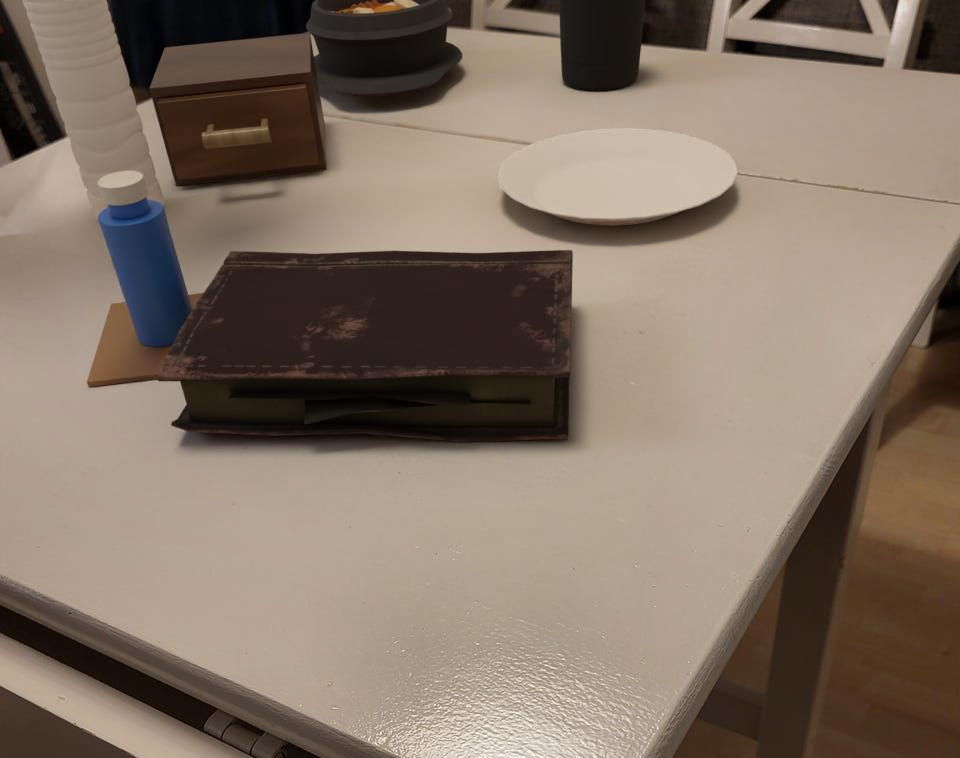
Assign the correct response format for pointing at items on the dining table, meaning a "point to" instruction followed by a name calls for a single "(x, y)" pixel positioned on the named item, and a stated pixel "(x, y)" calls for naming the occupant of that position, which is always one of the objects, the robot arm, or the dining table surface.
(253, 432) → the diary
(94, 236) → the dining table surface
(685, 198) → the plate
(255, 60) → the cabinet
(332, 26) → the casserole
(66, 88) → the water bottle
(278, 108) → the drawer
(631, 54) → the pen holder
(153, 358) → the mat
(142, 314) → the bottle
